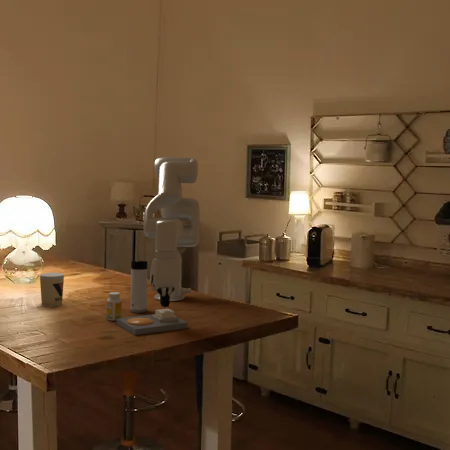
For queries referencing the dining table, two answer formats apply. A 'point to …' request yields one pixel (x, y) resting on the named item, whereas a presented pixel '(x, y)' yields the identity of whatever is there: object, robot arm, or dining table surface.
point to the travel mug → (138, 286)
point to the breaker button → (164, 313)
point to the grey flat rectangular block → (150, 324)
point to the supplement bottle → (114, 306)
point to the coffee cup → (51, 289)
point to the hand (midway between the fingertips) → (164, 306)
